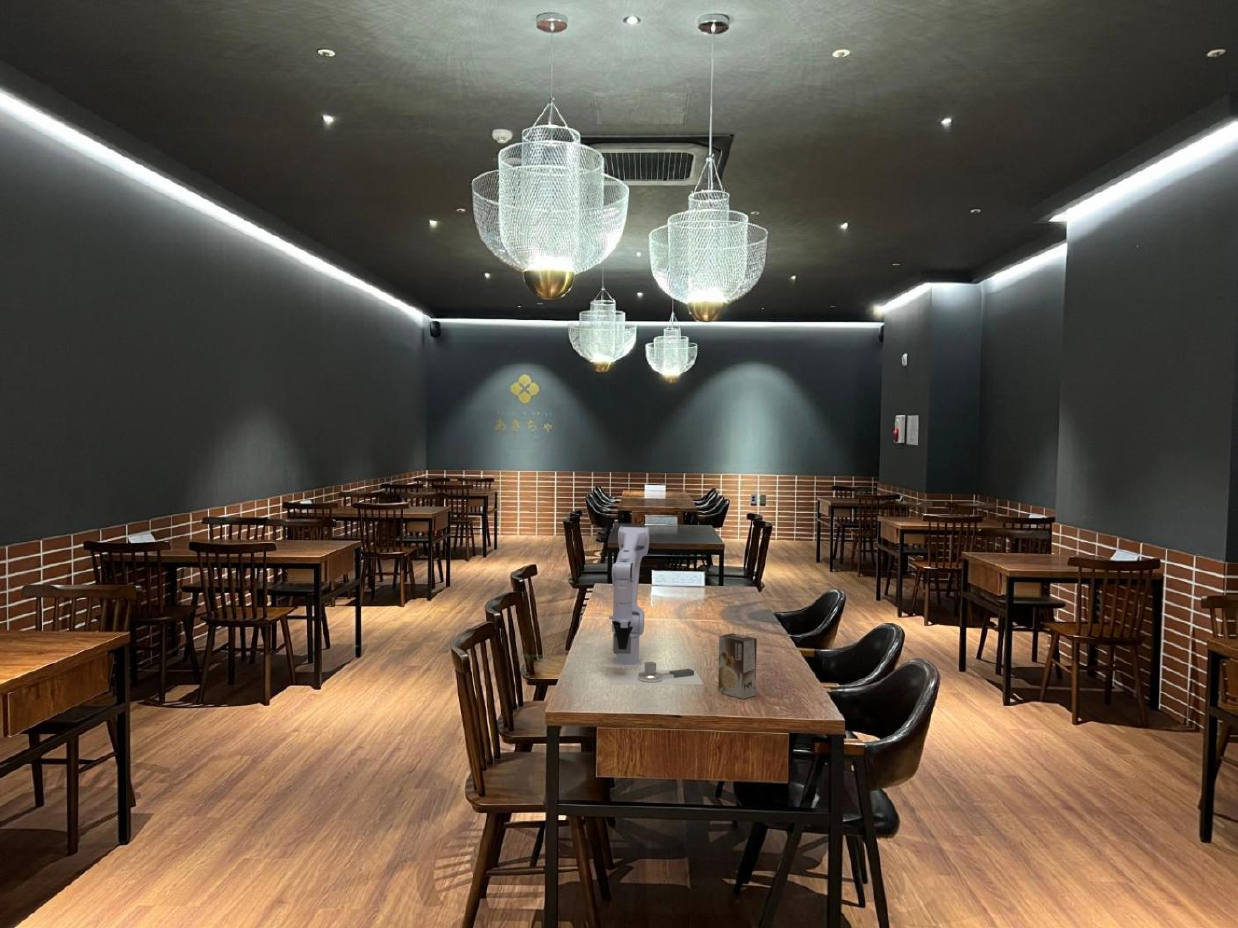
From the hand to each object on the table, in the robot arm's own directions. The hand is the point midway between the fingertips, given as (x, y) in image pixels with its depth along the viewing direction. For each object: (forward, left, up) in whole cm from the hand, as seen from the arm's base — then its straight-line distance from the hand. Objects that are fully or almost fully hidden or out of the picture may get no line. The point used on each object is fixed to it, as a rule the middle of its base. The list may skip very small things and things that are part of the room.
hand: (621, 647), depth 262 cm
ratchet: (+5, +13, -8) cm, 16 cm away
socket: (0, 0, -1) cm, 1 cm away
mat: (+4, +9, -8) cm, 13 cm away
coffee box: (+20, +31, -9) cm, 38 cm away
